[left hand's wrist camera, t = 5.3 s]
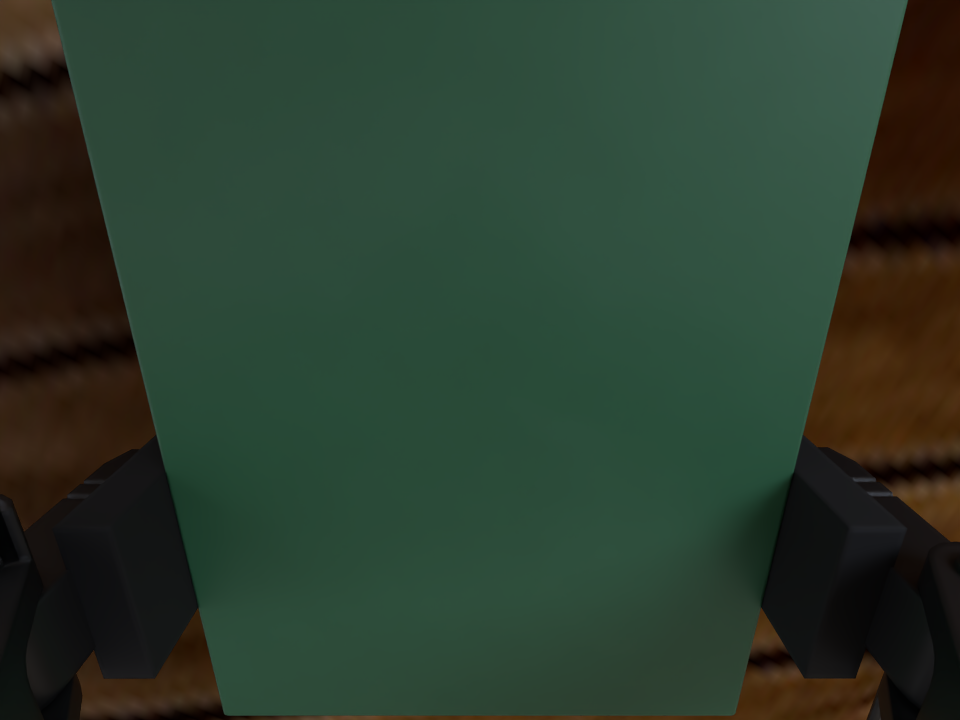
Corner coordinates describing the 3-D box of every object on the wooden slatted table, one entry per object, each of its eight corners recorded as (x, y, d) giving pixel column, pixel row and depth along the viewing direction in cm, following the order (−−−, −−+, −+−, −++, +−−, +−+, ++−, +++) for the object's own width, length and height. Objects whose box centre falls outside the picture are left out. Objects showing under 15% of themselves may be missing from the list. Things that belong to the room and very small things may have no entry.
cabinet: (294, -1, 14) (-14, -245, 5) (664, -1, 14) (972, -244, 5) (342, 451, 19) (222, 717, 10) (617, 451, 19) (737, 717, 10)
